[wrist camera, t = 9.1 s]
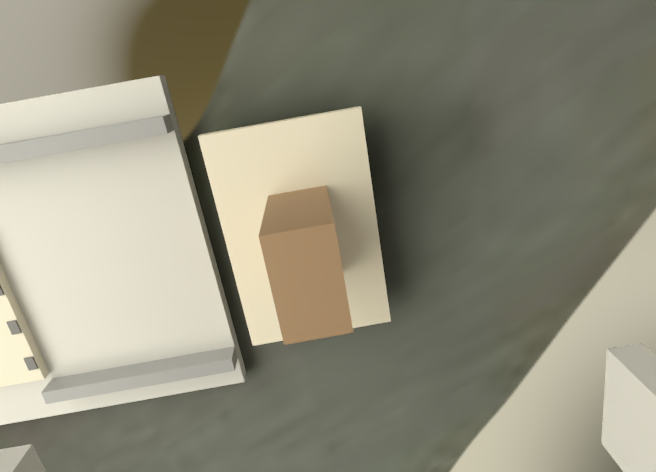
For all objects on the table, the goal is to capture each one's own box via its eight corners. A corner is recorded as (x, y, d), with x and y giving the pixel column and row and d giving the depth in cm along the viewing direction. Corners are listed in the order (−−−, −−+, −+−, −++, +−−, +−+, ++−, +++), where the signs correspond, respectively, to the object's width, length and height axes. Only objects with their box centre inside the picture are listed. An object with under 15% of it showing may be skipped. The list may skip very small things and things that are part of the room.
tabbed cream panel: (359, 106, 23) (381, 121, 17) (389, 316, 27) (414, 389, 21) (200, 134, 23) (164, 160, 17) (253, 340, 27) (240, 420, 21)
